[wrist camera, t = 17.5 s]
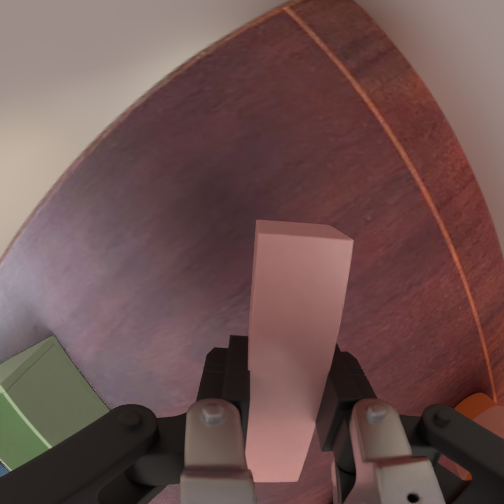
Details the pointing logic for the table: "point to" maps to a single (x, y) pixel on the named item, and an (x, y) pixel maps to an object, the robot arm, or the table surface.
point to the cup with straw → (481, 419)
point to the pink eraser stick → (291, 339)
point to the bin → (42, 402)
